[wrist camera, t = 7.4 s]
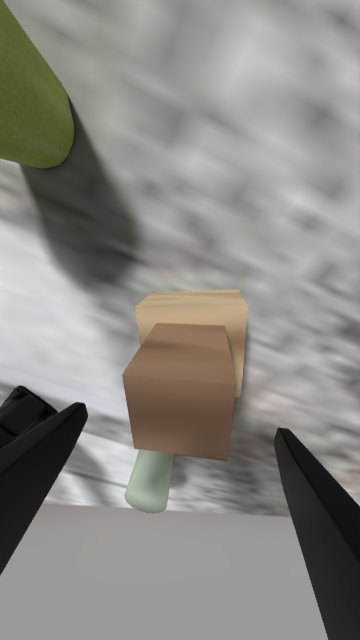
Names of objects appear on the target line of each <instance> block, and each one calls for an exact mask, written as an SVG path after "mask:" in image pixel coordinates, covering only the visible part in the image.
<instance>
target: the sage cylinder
mask: <svg viewBox="0 0 360 640" xmlns="http://www.w3.org/2000/svg"><path fill="white" fill-rule="evenodd" d="M174 456H175V454H171V453H163V452H156V451H149V450H141V449H140V450H139V453H138V456H137V459H136V462H135V465H134V468H133V471H132V474H131V477H130V480H129V483H128V486H127V489H126V492H125V499H126V501H127V503H128V504H129V505H131V506H132V507H134V508H135V509H137V510H140V511H142V512H146V513H160V512H162V511H164V510H165V509H166V507H167V500H168V494H169V488H170V481H171V475H172V469H173V462H174Z"/></svg>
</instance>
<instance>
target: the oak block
mask: <svg viewBox="0 0 360 640" xmlns="http://www.w3.org/2000/svg"><path fill="white" fill-rule="evenodd" d="M135 312H136V318H137V325H138V331H139V337H140V344H141V345H142V344H143V342H144V341H145V339H146V338H147V336H148V335H149V333H150V332H151V330H152V329H153V327H154V326H155V324H156V323H172V324H197V325H223V326H225V330H226V334H227V339H228V344H229V349H230V354H231V358H232V363H233V368H234V373H235V378H236V382H237V387H236V395H235V397H238V398H241V389H242V377H243V365H244V353H245V341H246V329H247V316H248V304H247V303H246V301H245V300H244V298H243V297H242V295H241V294H240V292H239V291H238V290H207V291H169V292H152V293H151V294H150V295H148V296H147V297H146V298H145V299H144V300H143V301H141V302H140V303H139V304H138V305H137V306H136V307H135Z"/></svg>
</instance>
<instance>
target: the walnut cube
mask: <svg viewBox="0 0 360 640" xmlns="http://www.w3.org/2000/svg"><path fill="white" fill-rule="evenodd" d="M122 377H123V383H124V389H125V395H126V401H127V407H128V413H129V419H130V425H131V431H132V437H133V443H134V449H141V450H149V451H156V452H163V453H171V454H178V455H185V456H193V457H200V458H208V459H215V460H222V461H227V459H228V451H229V443H230V435H231V427H232V419H233V411H234V403H235V395H236V387H237V382H236V378H235V373H234V368H233V363H232V358H231V354H230V349H229V344H228V339H227V334H226V330H225V326H223V325H197V324H172V323H156V324H155V326H154V327H153V329H152V330H151V332H150V333H149V335H148V336H147V338H146V339H145V341H144V342H143V344H142V345H141V347H140V348H139V350H138V352H137V353H136V355H135V356H134V358H133V359H132V361H131V362H130V364H129V365H128V367H127V368H126V370H125V371H124V373H123V374H122Z"/></svg>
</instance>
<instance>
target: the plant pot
mask: <svg viewBox="0 0 360 640" xmlns="http://www.w3.org/2000/svg"><path fill="white" fill-rule="evenodd" d="M73 139H74V122H73V118H72V114H71V110H70V105H69V100H68V96H67V94H66V91H65V89H64V87H63V86H62V84H61V82H60V81H59V79H58V78H57V77H56V75H55V74H54V72H53V71H52V69H51V68H50V67H49V65H48V64H47V62H46V61H45V59H44V58H43V57H42V55H41V54H40V52H39V51H38V50H37V48H36V47H35V45H34V44H33V43H32V41H31V40H30V38H29V37H28V35H27V34H26V33H25V31H24V30H23V28H22V27H21V25H20V24H19V22H18V21H17V20H16V18H15V17H14V15H13V14H12V12H11V11H10V9H9V8H8V6H7V5H6V4H5V2H4V1H3V0H0V158H1V159H5V160H9V161H13V162H17V163H20V164H24V165H28V166H32V167H36V168H49V167H54V166H58V165H60V164H61V163H62V162H63V161H64V160H65V159H66V158H67V156H68V154H69V152H70V150H71V147H72V144H73Z"/></svg>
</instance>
